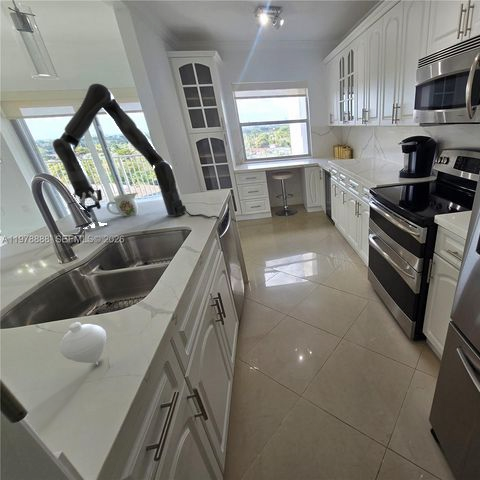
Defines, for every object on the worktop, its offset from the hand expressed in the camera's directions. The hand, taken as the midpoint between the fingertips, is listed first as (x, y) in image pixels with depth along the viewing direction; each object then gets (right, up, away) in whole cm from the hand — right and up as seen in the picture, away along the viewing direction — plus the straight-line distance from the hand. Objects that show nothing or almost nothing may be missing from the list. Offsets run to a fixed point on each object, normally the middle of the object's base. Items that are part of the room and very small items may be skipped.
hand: (93, 210), depth 141 cm
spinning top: (+74, -46, -82) cm, 119 cm away
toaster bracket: (-8, -9, +9) cm, 15 cm away
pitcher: (+1, -1, +25) cm, 25 cm away
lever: (-4, 0, +2) cm, 5 cm away
